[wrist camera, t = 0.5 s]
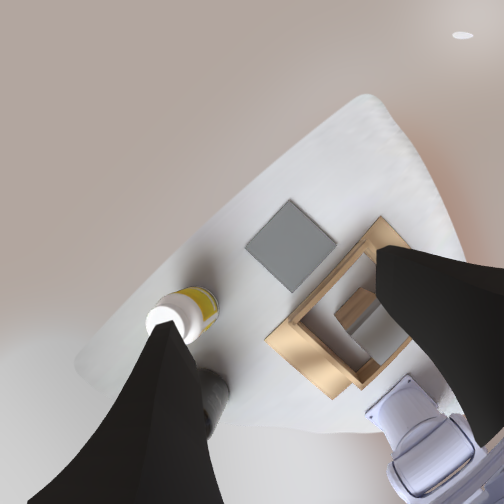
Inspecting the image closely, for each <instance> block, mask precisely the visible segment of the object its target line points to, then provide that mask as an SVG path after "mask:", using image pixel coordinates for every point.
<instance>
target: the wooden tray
mask: <svg viewBox="0 0 504 504" xmlns="http://www.w3.org/2000/svg"><path fill="white" fill-rule="evenodd" d="M388 245H394V246H400V247H405V248H409V249H411V248H410V247H409V246H408V245H407V244H406V242H405V241H404V240H403V239H402V238H401V237H400V236H399V235H398V234H397V233H396V232H395V230H394V229H393V228H392V227H391V226H390V225H389V224H388V223H387V222H386V221H385V220H384V219H383V218H382V217H381V216H380V217H379V218H378V219H377V221H376V222H375V223H374V224H373V225H372V226H371V228H370V229H369V230H368V231H367V232H366V233H365V235H364V236H363V237H362V238H361V239H360V240H359V242H358V243H357V244H356V245H355V246H354V247H353V248H352V250H351V251H350V252H349V253H348V254H347V255H346V256H345V257H344V259H343V260H342V261H341V262H340V263H339V264H338V265H337V266H336V267H335V268H334V269H333V271H332V272H331V273H330V274H329V275H328V276H327V277H326V278H325V279H324V280H323V281H322V282H321V283H320V285H319V286H318V287H317V288H316V289H315V290H314V291H313V292H312V293H311V294H310V295H309V296H308V297H307V298H306V299H305V300H304V301H303V302H302V303H301V304H300V305H299V306H298V307H297V308H296V309H295V310H294V311H293V312H292V313H291V314H290V315H289V316H288V317H287V318H286V319H285V320H284V321H283V322H282V323H281V324H280V325H279V326H278V327H277V328H276V329H275V330H274V331H273V332H272V333H271V334H270V335H269V336H268V337H267V338H266V339H265V340H264V341H265V342H266V343H267V344H268V345H269V346H271V347H272V348H273V349H274V350H275V351H276V352H277V353H278V354H279V355H281V356H282V357H283V358H284V359H285V360H286V361H287V362H288V363H290V364H291V365H292V366H293V367H294V368H295V369H296V370H298V371H299V372H300V373H301V374H302V375H303V376H304V377H306V378H307V379H308V380H309V381H310V382H311V383H313V384H314V385H315V386H316V387H317V388H319V389H320V390H321V391H322V392H323V393H324V394H326V395H327V396H328V397H329V398H330V399H332V400H333V399H334V398H336V397H337V396H338V395H339V394H340V393H341V392H343V391H344V390H345V389H346V388H347V387H348V386H349V385H350V384H351V383H353V384H355V385H356V386H357V387H358V388H359V389H360V390H361V391H362V390H363V389H364V388H365V387H366V386H367V385H368V384H369V383H370V382H371V381H373V380H374V379H375V378H376V377H377V376H378V375H379V374H380V373H381V372H382V371H383V370H384V369H385V368H386V367H387V366H388V365H389V364H390V363H391V362H392V361H393V360H394V359H395V358H396V357H397V356H398V354H399V353H400V352H401V351H402V350H403V349H404V348H405V347H406V346H407V345H408V344H409V342H410V341H411V340H412V338H411V337H410V336H409V337H408V338H407V339H406V340H405V341H404V342H403V343H402V344H401V345H400V347H399V348H398V349H397V350H396V351H395V352H394V353H393V354H392V355H391V356H390V357H389V358H388V359H387V360H386V361H385V362H384V363H383V364H382V365H381V366H380V365H379V364H378V363H377V362H376V361H375V360H374V359H373V358H371V359H370V360H369V361H368V362H367V363H366V364H365V365H363V366H362V367H361V368H360V369H359V370H358V371H357V372H355V371H353V370H352V369H351V368H350V367H349V366H348V365H347V364H346V363H345V362H344V361H343V360H341V359H340V358H339V357H338V356H337V355H336V354H335V353H334V352H333V351H332V350H331V349H329V348H328V347H327V346H326V345H325V344H324V343H323V342H322V341H321V340H320V339H319V338H318V337H317V336H315V335H314V334H313V333H312V332H311V331H310V330H309V329H308V328H307V327H306V326H305V325H304V324H303V323H302V322H300V320H301V319H302V318H303V317H304V316H305V315H306V314H307V313H308V312H309V311H310V310H311V308H312V307H313V306H314V305H315V304H316V303H317V302H318V301H319V300H320V299H321V298H322V297H323V296H324V295H325V294H326V293H327V292H328V291H329V290H330V289H331V288H332V287H333V285H334V284H335V283H336V282H337V281H338V280H339V279H340V278H341V277H342V276H343V275H344V274H345V272H346V271H347V270H348V269H349V268H350V267H351V266H352V265H353V264H354V262H355V261H356V260H357V259H358V258H359V257H360V256H361V254H362V253H363V252H364V253H365V254H366V255H367V256H368V257H369V258H370V259H371V260H372V261H373V262H374V263H375V264H376V250H377V249H380V248H383V247H385V246H388Z"/></svg>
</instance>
